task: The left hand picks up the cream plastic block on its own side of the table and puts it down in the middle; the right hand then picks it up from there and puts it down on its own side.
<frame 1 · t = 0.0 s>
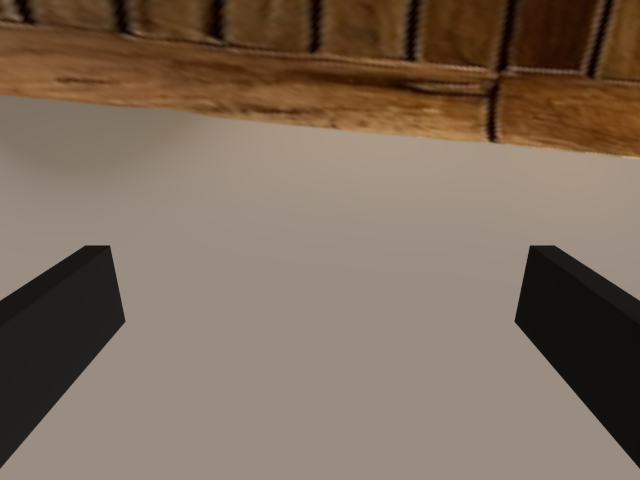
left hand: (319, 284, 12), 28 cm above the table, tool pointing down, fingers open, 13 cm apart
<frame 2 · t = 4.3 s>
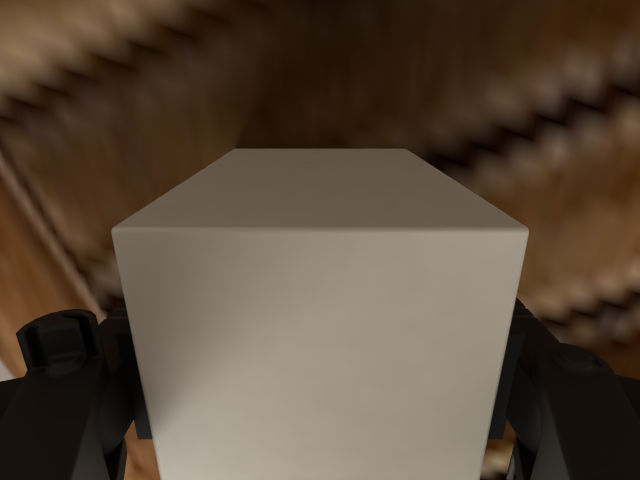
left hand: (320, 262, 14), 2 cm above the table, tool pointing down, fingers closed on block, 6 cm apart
block: (320, 243, 16), on the table, touching left hand
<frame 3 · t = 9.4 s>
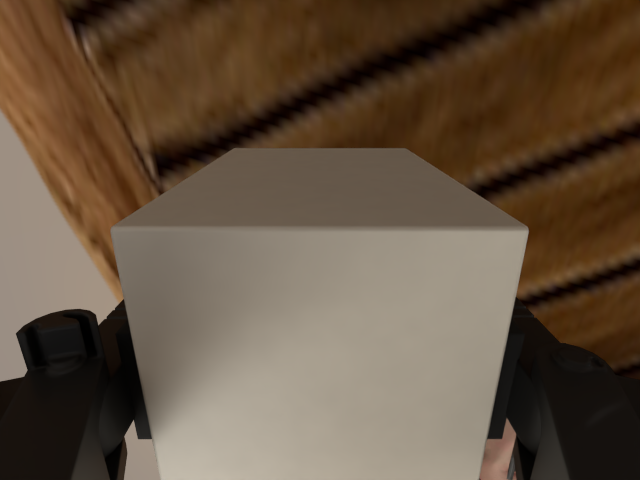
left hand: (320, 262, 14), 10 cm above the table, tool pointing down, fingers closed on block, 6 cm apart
block: (319, 243, 16), point 8 cm above the table, touching left hand
anatomical model: (518, 408, 29), on the table
when the left hand's fingers open (3 cm above the table, at t = 14.3 s): block drops 1 cm, on the table.
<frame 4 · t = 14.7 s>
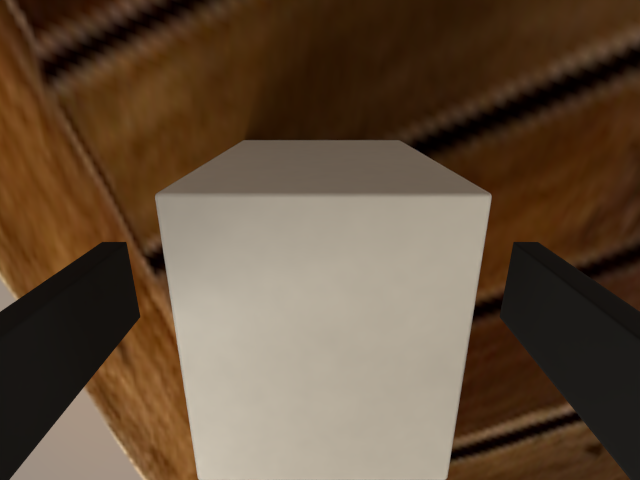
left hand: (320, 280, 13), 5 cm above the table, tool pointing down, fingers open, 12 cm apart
block: (321, 227, 17), on the table
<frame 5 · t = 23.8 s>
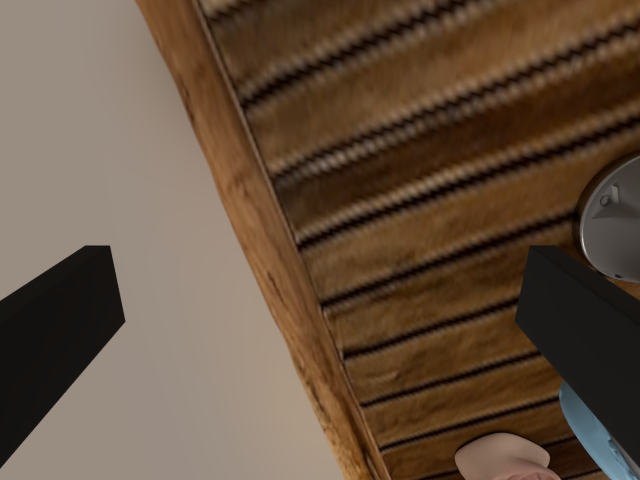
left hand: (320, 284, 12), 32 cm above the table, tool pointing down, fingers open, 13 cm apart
anatomical model: (499, 460, 59), on the table
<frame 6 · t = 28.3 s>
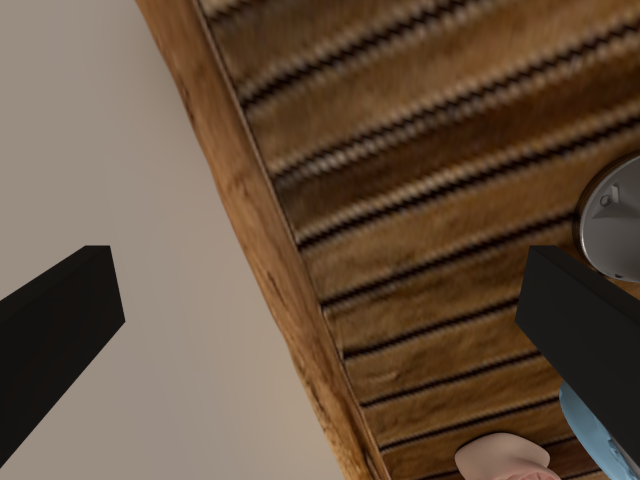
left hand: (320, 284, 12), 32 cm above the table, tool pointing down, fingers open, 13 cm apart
anatomical model: (499, 460, 59), on the table
when the right hand's fingers open (3 cm above the table, at t = 33.1 s): block drops 2 cm, on the table.
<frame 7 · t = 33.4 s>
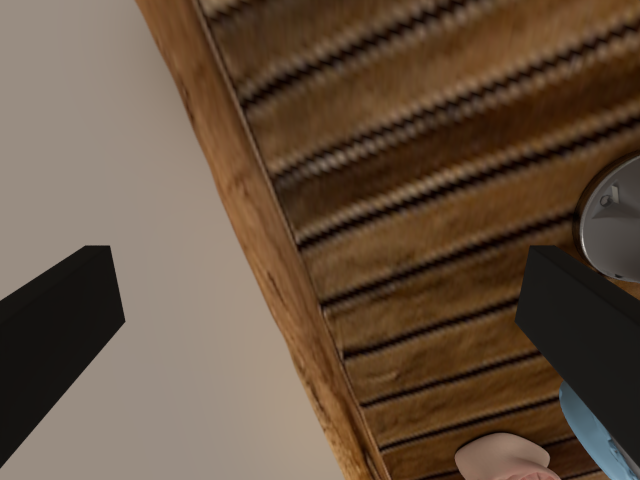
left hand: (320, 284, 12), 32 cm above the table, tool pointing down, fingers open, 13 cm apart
anatomical model: (499, 460, 59), on the table
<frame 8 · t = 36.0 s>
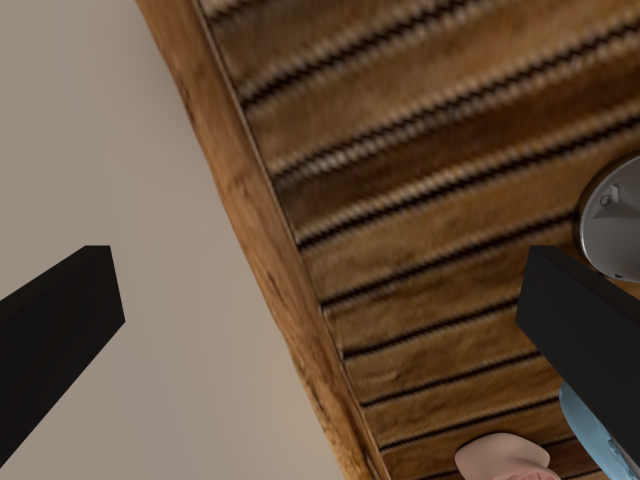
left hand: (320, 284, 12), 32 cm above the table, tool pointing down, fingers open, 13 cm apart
anatomical model: (499, 460, 59), on the table
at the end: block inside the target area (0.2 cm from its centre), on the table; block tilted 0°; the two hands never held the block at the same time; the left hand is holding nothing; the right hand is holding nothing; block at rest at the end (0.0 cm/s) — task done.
